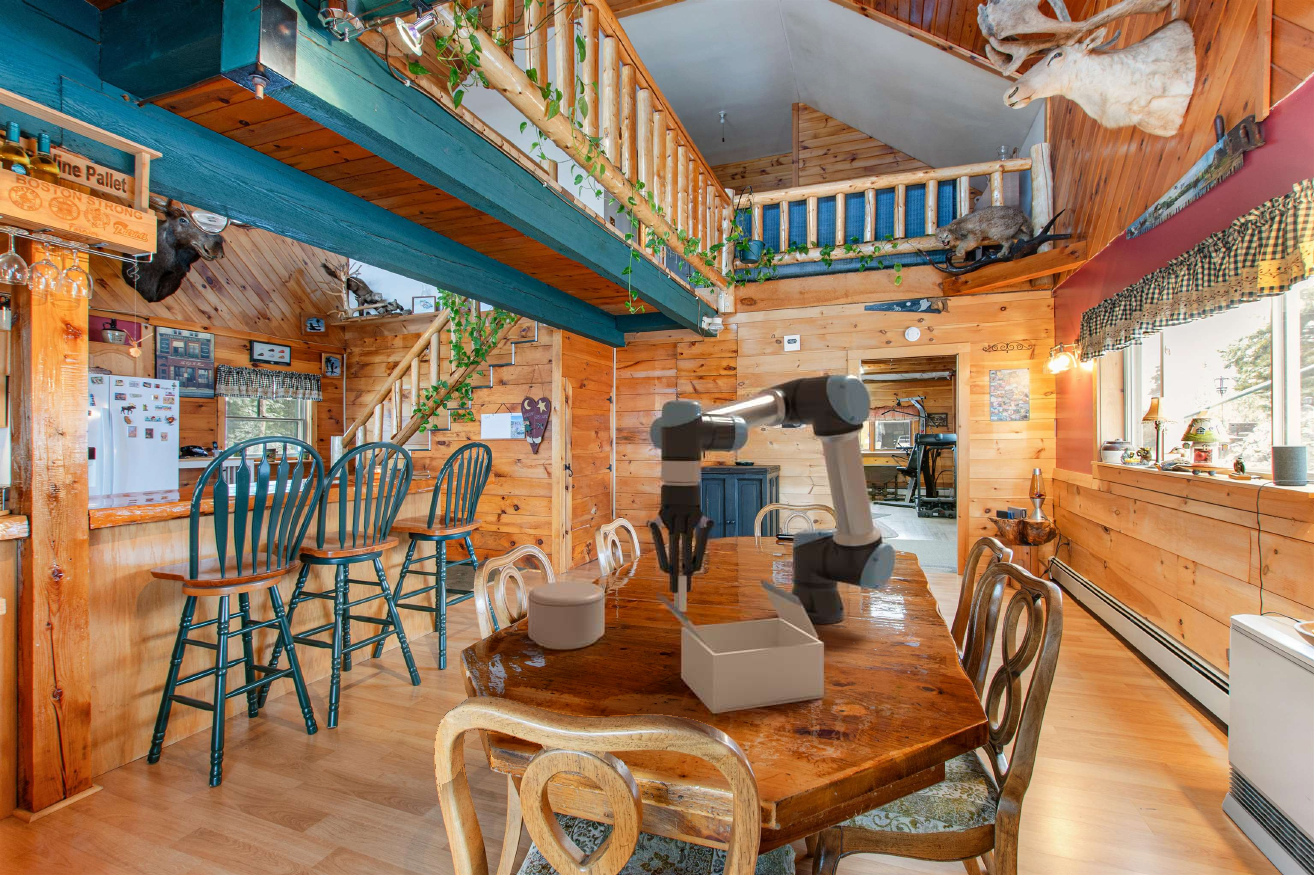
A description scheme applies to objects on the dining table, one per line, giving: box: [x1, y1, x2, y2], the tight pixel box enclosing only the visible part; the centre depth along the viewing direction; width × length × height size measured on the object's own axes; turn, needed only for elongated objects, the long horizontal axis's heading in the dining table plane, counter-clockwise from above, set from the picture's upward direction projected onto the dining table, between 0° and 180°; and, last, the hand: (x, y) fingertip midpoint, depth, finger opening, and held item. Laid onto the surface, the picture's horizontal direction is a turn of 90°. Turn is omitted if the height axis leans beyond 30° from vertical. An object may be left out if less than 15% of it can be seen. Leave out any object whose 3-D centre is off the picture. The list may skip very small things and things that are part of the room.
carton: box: [680, 617, 825, 714], centre depth 113 cm, size 22×16×10 cm
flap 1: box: [656, 593, 714, 650], centre depth 109 cm, size 9×14×1 cm
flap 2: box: [760, 579, 819, 639], centre depth 115 cm, size 9×14×1 cm
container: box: [527, 580, 606, 650], centre depth 140 cm, size 18×18×12 cm
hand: (680, 609), depth 111 cm, fingers closed
